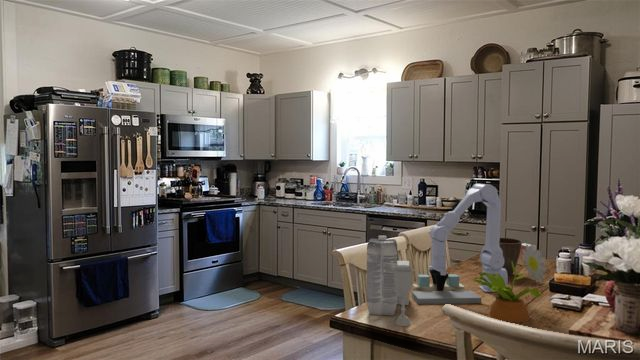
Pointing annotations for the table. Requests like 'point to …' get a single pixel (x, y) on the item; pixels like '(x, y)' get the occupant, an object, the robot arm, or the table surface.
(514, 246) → the plant pot
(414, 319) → the table surface
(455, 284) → the block
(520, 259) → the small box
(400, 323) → the chalice
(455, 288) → the beige bar
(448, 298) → the loading dock
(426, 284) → the block
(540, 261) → the decorative plant
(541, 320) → the table surface
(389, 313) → the juice carton
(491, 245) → the robot arm
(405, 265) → the supplement box
